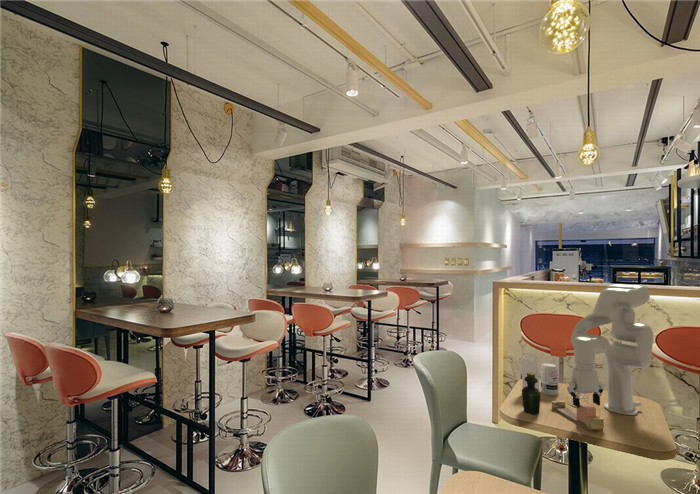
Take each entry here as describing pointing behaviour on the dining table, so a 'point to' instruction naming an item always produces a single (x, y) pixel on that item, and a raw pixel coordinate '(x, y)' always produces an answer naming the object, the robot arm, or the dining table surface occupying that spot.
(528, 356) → the clear plastic bottle
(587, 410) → the block
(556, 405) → the track
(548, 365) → the supplement can
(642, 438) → the dining table surface
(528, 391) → the potion bottle
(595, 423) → the post
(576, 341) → the robot arm
